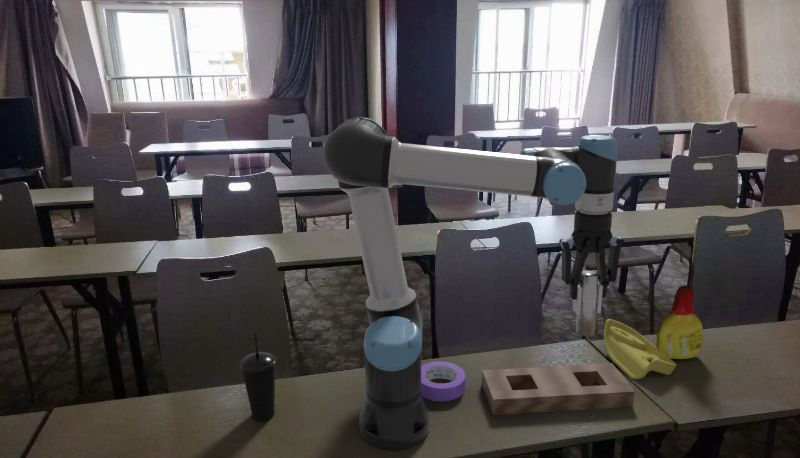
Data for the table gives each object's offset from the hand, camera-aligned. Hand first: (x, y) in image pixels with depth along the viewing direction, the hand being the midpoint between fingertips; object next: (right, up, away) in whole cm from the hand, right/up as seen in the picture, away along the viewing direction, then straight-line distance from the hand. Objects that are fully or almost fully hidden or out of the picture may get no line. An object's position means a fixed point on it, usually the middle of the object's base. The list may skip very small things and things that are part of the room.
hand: (586, 311), depth 127 cm
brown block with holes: (-5, -21, +6) cm, 22 cm away
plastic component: (+19, -16, +21) cm, 33 cm away
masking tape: (-32, -20, +10) cm, 39 cm away
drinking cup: (-72, -24, +1) cm, 76 cm away
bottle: (+31, -15, +22) cm, 41 cm away
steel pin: (0, -5, +1) cm, 5 cm away
